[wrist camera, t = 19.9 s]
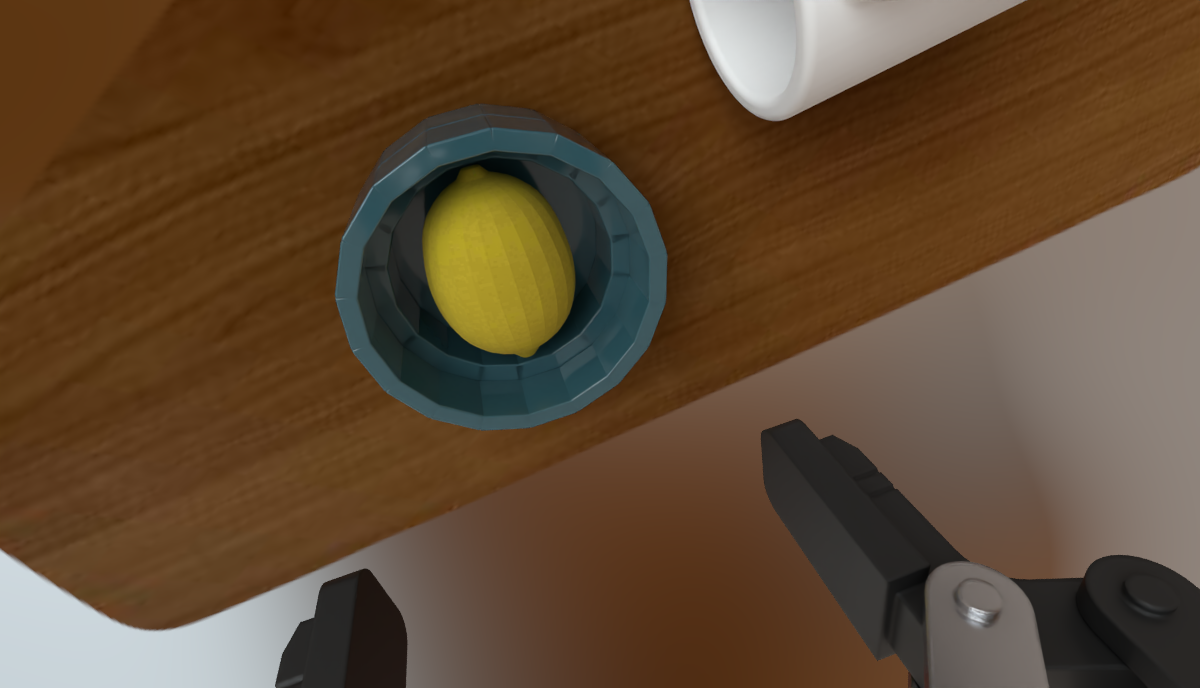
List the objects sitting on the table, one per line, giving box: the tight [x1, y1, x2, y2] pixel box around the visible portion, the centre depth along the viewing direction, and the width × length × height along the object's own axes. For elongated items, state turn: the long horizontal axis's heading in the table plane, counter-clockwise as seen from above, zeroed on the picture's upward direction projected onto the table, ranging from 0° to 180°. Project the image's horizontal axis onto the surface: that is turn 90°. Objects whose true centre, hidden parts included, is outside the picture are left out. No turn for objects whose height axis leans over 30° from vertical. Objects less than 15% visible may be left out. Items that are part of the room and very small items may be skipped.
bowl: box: [335, 104, 667, 431], centre depth 22 cm, size 11×12×6 cm
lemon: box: [422, 164, 575, 357], centre depth 22 cm, size 6×6×8 cm
